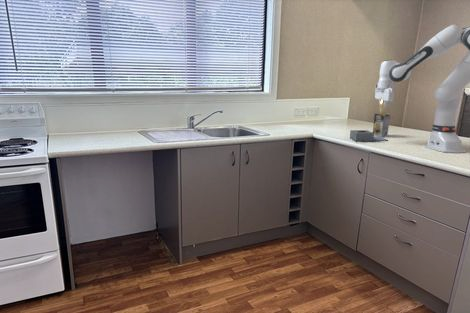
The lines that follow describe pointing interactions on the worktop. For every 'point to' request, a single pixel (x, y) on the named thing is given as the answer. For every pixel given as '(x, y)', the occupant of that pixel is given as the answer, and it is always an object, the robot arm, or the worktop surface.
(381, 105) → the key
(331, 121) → the worktop surface
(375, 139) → the mat
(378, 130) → the coffee box
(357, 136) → the chuck block
